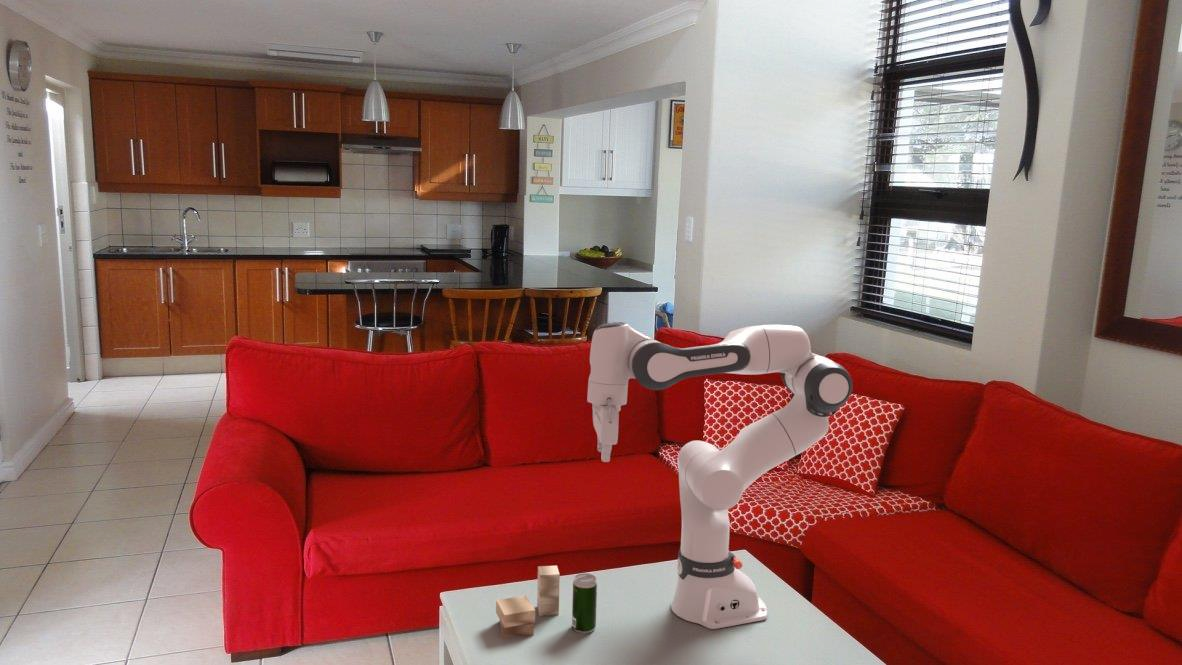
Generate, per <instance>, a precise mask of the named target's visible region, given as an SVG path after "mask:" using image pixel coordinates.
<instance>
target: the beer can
mask: <svg viewBox="0 0 1182 665" xmlns="http://www.w3.org/2000/svg"><path fill="white" fill-rule="evenodd" d="M597 595H598V581H597V577H596V576H595V575H594V574H593V573H586V572H585V573H583V572H582V573H578V574H576V575H574V577H573V581H572V605H571V606H572V607H571V608H572V611H571V627H572V630H575V631H574V632H576V633H577V632H578V634H581V633H582V634H584V635H586V634H585V633H587V634H590V633H593V632H594V630H596V626H597V605H598V604H597V603H598V602H597V599H598V596H597ZM592 631H593V632H592ZM582 634H581V635H582Z"/></svg>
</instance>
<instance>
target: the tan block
mask: <svg viewBox="0 0 1182 665" xmlns="http://www.w3.org/2000/svg"><path fill="white" fill-rule="evenodd" d="M536 595H537V598H536V599H537V600H536V602H537V603H536V607H537V611H538V615H539V617H541V616H544V615H545V616H557V614H559V615H560V571H559V567H558V565H542V566H541V565H540V566H539V565H538V566H537V594H536Z"/></svg>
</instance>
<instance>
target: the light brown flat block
mask: <svg viewBox="0 0 1182 665" xmlns="http://www.w3.org/2000/svg"><path fill="white" fill-rule="evenodd" d="M499 626H500V627H499V628H500V636H501V638H514V637H515V638H517V637H529V636H534V634H535V633H534V629H535V627H534V626H535V625H534V623H530V624H524V625H518V626H512V627H506V628H504V626H503V624H502V622H501V621H500V620H499Z"/></svg>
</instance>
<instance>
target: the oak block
mask: <svg viewBox="0 0 1182 665" xmlns="http://www.w3.org/2000/svg"><path fill="white" fill-rule="evenodd" d="M495 613H496V615H497V617H498V619H499V622H500V621H501V622H502V624H503V626H504V628H506V627H512V626H518V625H524V624H530V623H536V609H535V607H534V606H533V604H532V603H531V601H530V599H529V598H528V596H527V595H521V596H515V597H508V598H502V599H496V600H495Z"/></svg>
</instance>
